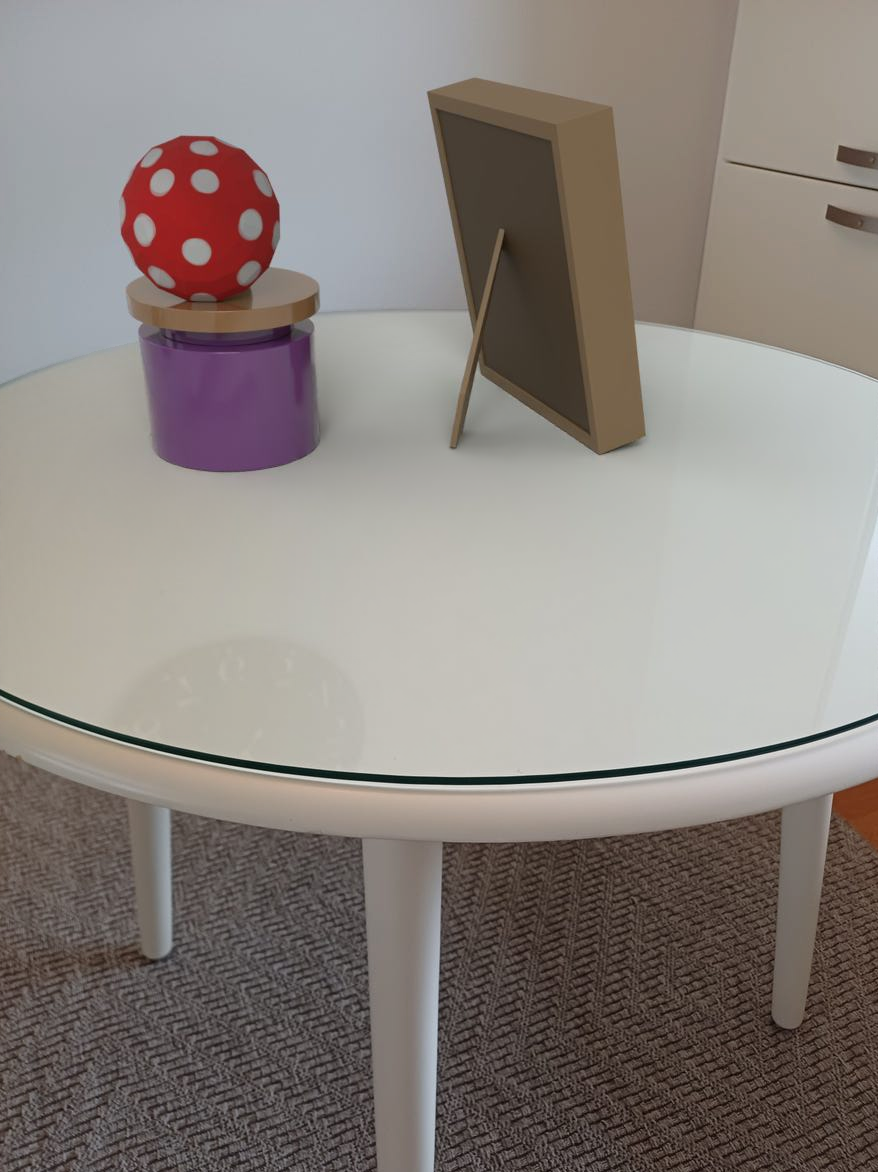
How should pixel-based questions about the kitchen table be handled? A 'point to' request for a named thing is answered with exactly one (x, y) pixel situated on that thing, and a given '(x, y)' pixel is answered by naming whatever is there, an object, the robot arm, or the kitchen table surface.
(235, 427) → the jar
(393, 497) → the kitchen table surface
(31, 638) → the kitchen table surface
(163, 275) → the red polka-dot ball
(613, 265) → the photo frame
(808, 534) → the kitchen table surface
